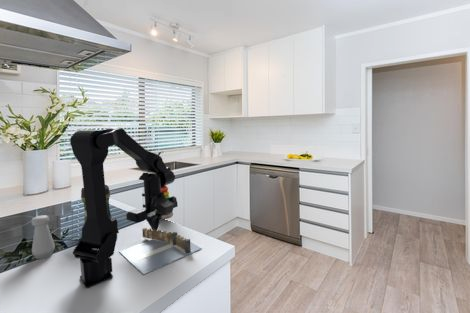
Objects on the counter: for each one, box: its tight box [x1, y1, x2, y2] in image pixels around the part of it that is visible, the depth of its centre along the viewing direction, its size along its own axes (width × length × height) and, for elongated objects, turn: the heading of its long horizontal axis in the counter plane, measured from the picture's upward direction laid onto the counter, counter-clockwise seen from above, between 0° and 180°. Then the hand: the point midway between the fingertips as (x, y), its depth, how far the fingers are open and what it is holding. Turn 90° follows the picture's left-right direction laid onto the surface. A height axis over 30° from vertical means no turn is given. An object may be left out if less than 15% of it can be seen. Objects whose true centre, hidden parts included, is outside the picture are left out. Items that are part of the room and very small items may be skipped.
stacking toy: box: [161, 185, 174, 220], centre depth 110 cm, size 8×8×19 cm
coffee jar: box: [80, 184, 113, 224], centre depth 94 cm, size 10×8×19 cm
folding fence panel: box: [141, 227, 173, 243], centre depth 87 cm, size 12×1×3 cm, turn 69°
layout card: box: [118, 231, 202, 276], centre depth 81 cm, size 20×18×1 cm
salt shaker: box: [31, 214, 56, 260], centre depth 77 cm, size 6×6×13 cm
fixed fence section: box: [172, 231, 191, 253], centre depth 82 cm, size 2×9×4 cm, turn 45°
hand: (155, 231), depth 89 cm, fingers closed
